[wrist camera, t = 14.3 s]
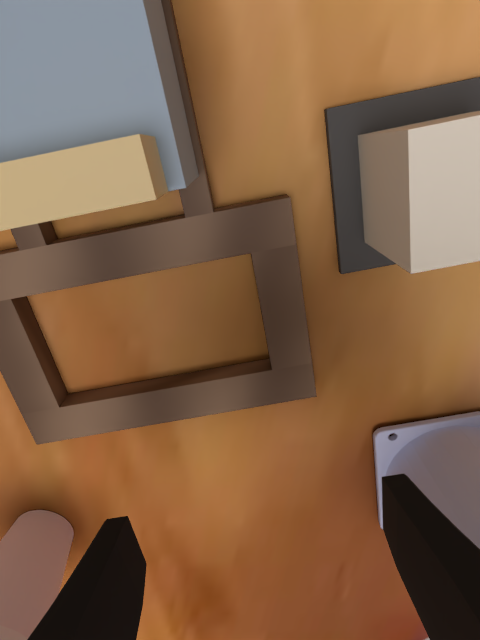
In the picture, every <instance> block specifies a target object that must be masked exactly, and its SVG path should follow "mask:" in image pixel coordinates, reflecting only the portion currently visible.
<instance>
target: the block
mask: <svg viewBox="0 0 480 640" xmlns="http://www.w3.org/2000/svg"><path fill="white" fill-rule="evenodd" d="M358 147H359V163H360V178H361V193H362V209H363V224H364V240H365V243H366V244H368V245H369V246H371V247H372V248H374V249H375V250H377V251H378V252H380V253H381V254H383V255H384V256H386V257H387V258H388V259H390V260H391V261H393V262H394V263H396V264H397V265H399V266H400V267H402V268H403V269H405V270H406V271H408V272H409V273H410V274H413V273H418V272H423V271H429V270H434V269H439V268H445V267H450V266H455V265H461V264H466V263H472V262H477V261H480V111H475V112H469V113H464V114H459V115H454V116H449V117H444V118H439V119H435V120H430V121H425V122H420V123H415V124H410V125H405V126H400V127H396V128H391V129H386V130H381V131H376V132H371V133H366V134H362V135H358Z"/></svg>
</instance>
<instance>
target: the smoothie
mask: <svg viewBox="0 0 480 640" xmlns="http://www.w3.org/2000/svg"><path fill="white" fill-rule="evenodd" d="M73 536H74V531H73V528H72V526H71V524H70V523H69V522H68V521H67V520H66V519H65V518H64V517H62V516H61V515H59V514H57V513H54V512H51V511H46V510H33V511H29V512H26V513H24V514H22V515H21V516H19V517H18V518H17V520H16V521H15V522H14V524H13V525H12V526H11V528H10V529H9V530H8V532H7V533H6V534H5V536H4V537H3V538H2V540H1V541H0V640H27V639H28V638H29V636H30V635H31V633H32V632H33V631H34V629H35V628H36V626H37V625H38V624H39V622H40V621H41V619H42V618H43V616H44V615H45V614H46V612H47V611H48V609H49V608H50V606H51V605H52V604H53V602H54V601H55V599H56V598H57V596H58V594H59V591H60V587H61V583H62V579H63V575H64V571H65V567H66V564H67V560H68V556H69V552H70V548H71V544H72V540H73Z"/></svg>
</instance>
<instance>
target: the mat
mask: <svg viewBox="0 0 480 640" xmlns="http://www.w3.org/2000/svg"><path fill="white" fill-rule="evenodd" d="M324 111H325V122H326V132H327V143H328V154H329V165H330V176H331V187H332V198H333V209H334V220H335V231H336V242H337V253H338V264H339V272H340V273H341V274H345V273H350V272H356V271H361V270H366V269H372V268H377V267H382V266H388V265H393V264H396V263H394V262H393V261H391V260H390V259H388V258H387V257H386V256H384V255H383V254H381V253H380V252H378V251H377V250H375V249H374V248H372V247H371V246H369V245H368V244H366V243H365V240H364V224H363V209H362V193H361V178H360V163H359V147H358V135H362V134H366V133H371V132H376V131H381V130H386V129H391V128H396V127H400V126H405V125H410V124H415V123H420V122H425V121H430V120H435V119H439V118H444V117H449V116H454V115H459V114H464V113H469V112H475V111H480V77H478V78H473V79H468V80H463V81H459V82H454V83H449V84H444V85H439V86H435V87H430V88H425V89H420V90H415V91H410V92H406V93H401V94H396V95H391V96H386V97H382V98H377V99H372V100H367V101H362V102H357V103H353V104H348V105H343V106H338V107H333V108H329V109H325V110H324Z"/></svg>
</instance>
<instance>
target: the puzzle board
mask: <svg viewBox="0 0 480 640" xmlns="http://www.w3.org/2000/svg"><path fill="white" fill-rule="evenodd" d="M161 3H162V7H163V12H164V17H165V21H166V26H167V30H168V35H169V40H170V44H171V49H172V54H173V58H174V63H175V67H176V72H177V77H178V81H179V86H180V91H181V95H182V100H183V105H184V109H185V114H186V118H187V123H188V128H189V132H190V137H191V142H192V146H193V151H194V155H195V160H196V165H197V169H198V174H199V177H197V178H196V179H195V180H194V181H193V182H192V183H191V184H190V185H189V186H187V187H186V188H182V189H179V193H180V197H181V201H182V205H183V210H184V215H179V216H174V217H169V218H164V219H159V220H154V221H149V222H144V223H139V224H134V225H129V226H124V227H119V228H114V229H109V230H104V231H98V232H93V233H88V234H83V235H78V236H73V237H68V238H63V239H58V240H57V237H56V234H55V232H54V229H53V226H52V224H51V221H47V222H42V223H37V224H32V225H27V226H22V227H17V228H12V229H11V232H12V234H13V236H14V239H15V241H16V244H17V246H18V248H13V249H7V250H2V251H0V371H1V373H2V375H3V377H4V379H5V381H6V383H7V385H8V387H9V389H10V392H11V394H12V396H13V398H14V400H15V402H16V404H17V406H18V408H19V410H20V412H21V414H22V416H23V418H24V420H25V422H26V424H27V426H28V428H29V430H30V432H31V434H32V436H33V438H34V440H35V442H36V444H43V443H49V442H55V441H61V440H66V439H72V438H78V437H84V436H90V435H96V434H101V433H107V432H113V431H119V430H125V429H130V428H136V427H142V426H148V425H154V424H160V423H165V422H171V421H177V420H183V419H189V418H194V417H200V416H206V415H212V414H218V413H224V412H229V411H235V410H241V409H247V408H253V407H258V406H264V405H270V404H276V403H282V402H288V401H293V400H299V399H305V398H311V397H317V396H316V388H315V381H314V373H313V366H312V358H311V351H310V343H309V335H308V328H307V320H306V313H305V305H304V298H303V290H302V282H301V275H300V267H299V260H298V252H297V245H296V237H295V229H294V222H293V214H292V207H291V199H290V197H289V196H288V195H287V194H286V195H280V196H275V197H270V198H265V199H260V200H255V201H250V202H245V203H240V204H235V205H230V206H225V207H220V208H215V209H214V204H213V199H212V194H211V190H210V185H209V180H208V175H207V170H206V166H205V161H204V156H203V151H202V146H201V141H200V137H199V132H198V127H197V122H196V117H195V113H194V108H193V103H192V98H191V93H190V88H189V84H188V79H187V74H186V69H185V64H184V60H183V55H182V50H181V45H180V40H179V35H178V31H177V26H176V21H175V16H174V11H173V7H172V2H171V0H161ZM249 253H251V256H252V262H253V267H254V273H255V278H256V284H257V290H258V295H259V301H260V306H261V312H262V317H263V323H264V329H265V334H266V340H267V345H268V351H269V356H270V358H269V359H264V360H258V361H252V362H247V363H241V364H236V365H230V366H224V367H219V368H213V369H207V370H202V371H196V372H191V373H185V374H179V375H174V376H168V377H162V378H157V379H151V380H145V381H140V382H134V383H129V384H123V385H117V386H112V387H106V388H100V389H95V390H89V391H84V392H78V393H72V394H68V393H67V391H66V388H65V386H64V384H63V381H62V379H61V377H60V374H59V372H58V370H57V367H56V365H55V363H54V360H53V358H52V356H51V353H50V351H49V349H48V346H47V344H46V342H45V339H44V337H43V335H42V332H41V330H40V328H39V325H38V323H37V321H36V318H35V316H34V314H33V311H32V309H31V307H30V304H29V302H28V300H27V297H26V296H29V295H35V294H40V293H45V292H50V291H56V290H61V289H66V288H71V287H76V286H82V285H87V284H92V283H97V282H103V281H108V280H113V279H118V278H124V277H129V276H134V275H139V274H144V273H150V272H155V271H160V270H165V269H171V268H176V267H181V266H186V265H191V264H197V263H202V262H207V261H212V260H218V259H223V258H228V257H233V256H239V255H244V254H249Z"/></svg>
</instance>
